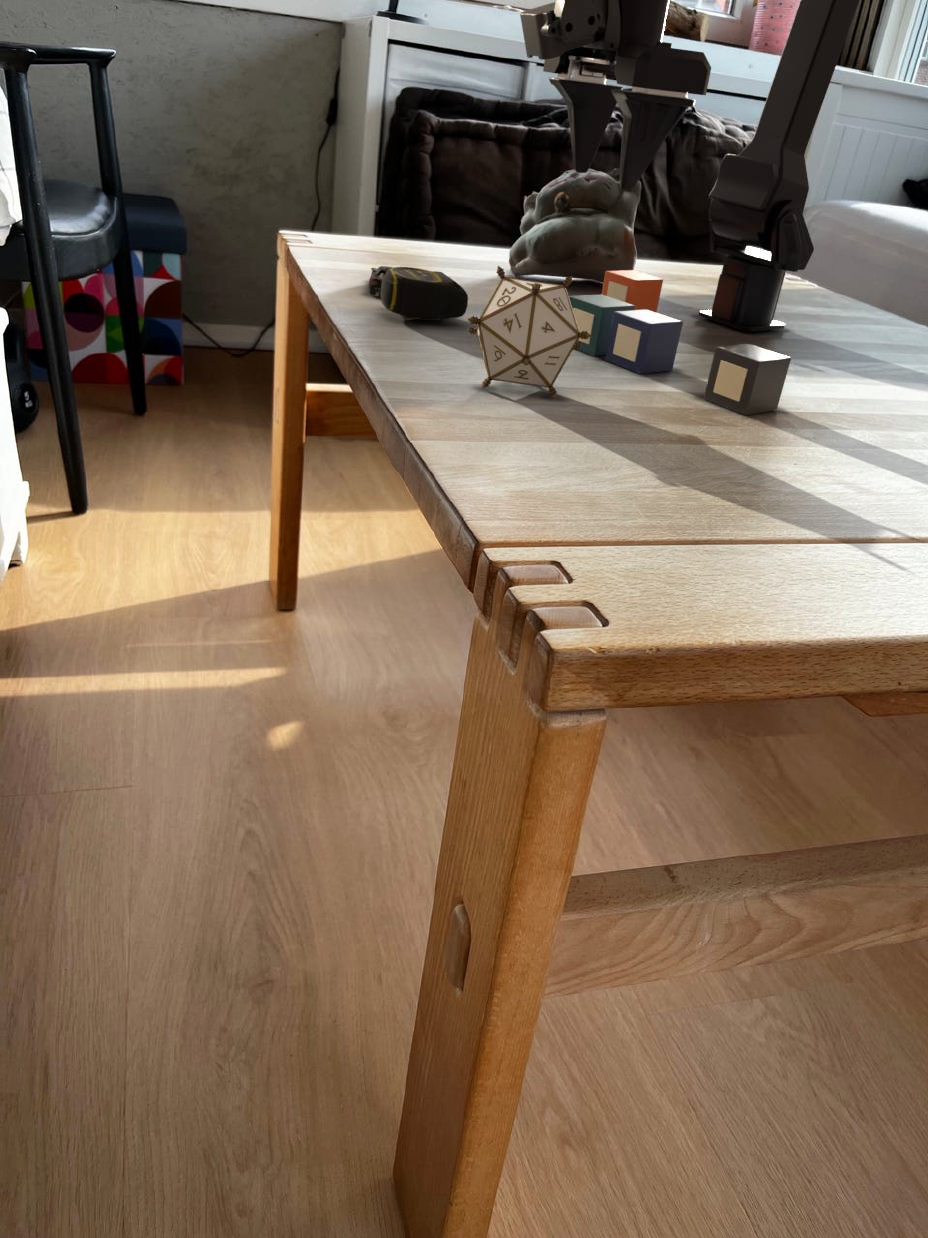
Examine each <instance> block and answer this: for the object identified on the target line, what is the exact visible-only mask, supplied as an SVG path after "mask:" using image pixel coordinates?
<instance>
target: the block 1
mask: <svg viewBox="0 0 928 1238" xmlns="http://www.w3.org/2000/svg"><path fill="white" fill-rule="evenodd" d="M568 296H569V300H570V303H571V306H572V309H573V312H574V315H575V318H576V322H577V325H578V328H579V331H580V333H581V332H583V331H584V332H586V331H587V332H588V333H589V334H590V335H591V336H590V337H589V338H588V339H582V338H579V340H578V341H579V342H580V343H581V345H582V346H580V347H578V348H577V349H576V347H575V348H574V349H575V350H578V351H580V352H582V353H585V354H587V355H591V356H593V357H598V356H600V357H601V356H606V353H607V347H608V342H609V337H610V332H611V326H612V321H613V316H614V312H616V311H631V310H635V305H632V304H629V303H626V302H623V301H620V300H617V299H614V298H611V297H608V296H605V295H602V293H601V294H598V293H597V294H580V295H579V294H578V295H568Z"/></svg>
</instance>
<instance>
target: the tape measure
mask: <svg viewBox="0 0 928 1238" xmlns="http://www.w3.org/2000/svg"><path fill="white" fill-rule="evenodd" d="M393 267H394V268H391V269H388V270H387V271H386V274H385V276H384V277H383V280H382V285H381V293H380V299H381V303H382V306H383V307H384V308H385V309H386V310H388V311H390V312H392V313H394V314H395V315H399V316H400V317H401V318H403V320H405V321H411V320H423V321H434V320H435V321H436V320H451V319H457V318H462V317H463V316H464V315H465V314H466V312H467V308H468V303H469V295H468V293H467V291H466V290H465V289H464V287H462V285H460V284H459V282H458V283H457V281H455V280H453V278H451V277H450V276H448V275H447V274H445V273H444V272H442V271H436V270H434V271H433V270H428V269H423V268H418V267H411V266H393Z"/></svg>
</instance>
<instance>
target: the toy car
mask: <svg viewBox="0 0 928 1238" xmlns="http://www.w3.org/2000/svg"><path fill="white" fill-rule="evenodd" d="M394 267H395V266H387V265H380V266H378V267H371V268H370V271H371V273H370V274H371V275H370V277H369V281H368V290H369V292H368V293H369V295H377V293H379V294H381V285H382V280H383V277H384V276H385V274H386V271H387V270H388V269H391V268H394Z"/></svg>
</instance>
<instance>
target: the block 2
mask: <svg viewBox="0 0 928 1238" xmlns="http://www.w3.org/2000/svg"><path fill="white" fill-rule="evenodd" d="M683 324H684V321H682V320H680V319H677V318H674V317H671V316H668V315H665V314H661V313H659V312H653V311H650V310H647V309H646V310H631V311H616V312H614V316H613V321H612V326H611V332H610V337H609V342H608V347H607V353H606V355H605V359H604V360H605V361H606V362H608V363H611V364H614V365H615V366H618V367H622V368H624V369H627V370H629V371H631V372H634V373H636V374H639V375H644V374H652V373H659V372H668V371H673V369H674V364H675V361H676V360H675V359H676V356H677V351H678V346H679V341H680V337H681V332H682V329H683Z"/></svg>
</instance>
